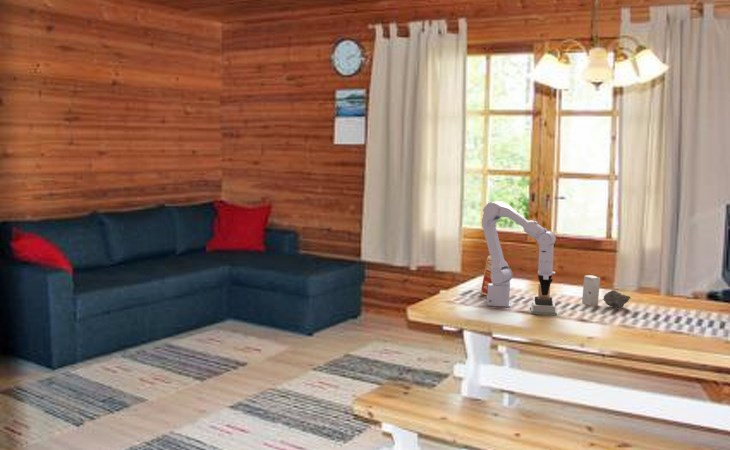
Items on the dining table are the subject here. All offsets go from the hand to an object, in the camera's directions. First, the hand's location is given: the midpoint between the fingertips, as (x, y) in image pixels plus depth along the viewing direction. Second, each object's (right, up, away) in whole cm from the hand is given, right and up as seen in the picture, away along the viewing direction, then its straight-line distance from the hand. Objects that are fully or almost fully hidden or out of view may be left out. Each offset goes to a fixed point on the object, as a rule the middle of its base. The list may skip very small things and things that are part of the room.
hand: (544, 293), depth 289 cm
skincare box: (+24, -6, +16) cm, 29 cm away
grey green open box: (0, -7, +1) cm, 7 cm away
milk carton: (-15, -4, +32) cm, 35 cm away
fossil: (+33, -7, +9) cm, 35 cm away
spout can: (0, -2, 0) cm, 2 cm away
